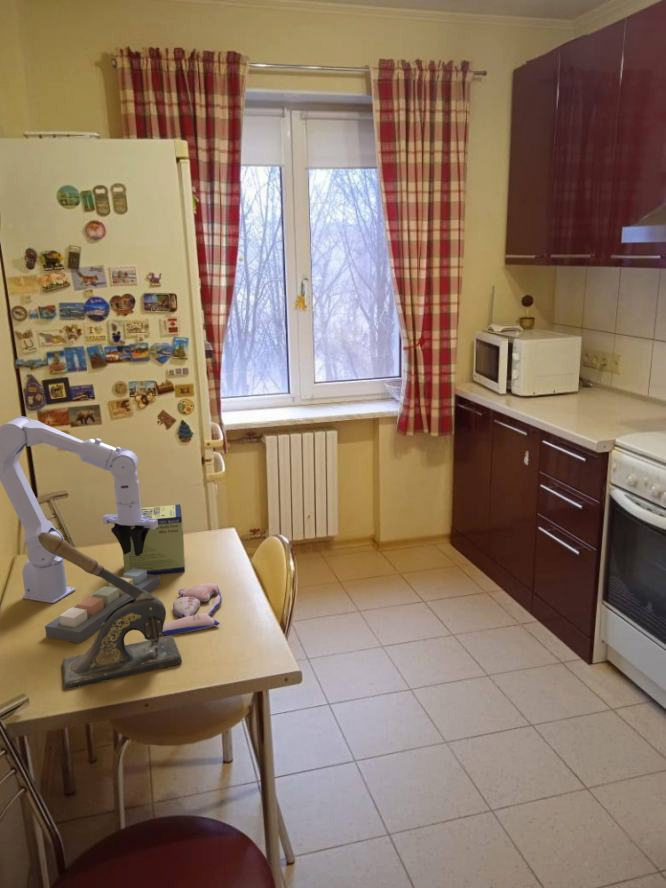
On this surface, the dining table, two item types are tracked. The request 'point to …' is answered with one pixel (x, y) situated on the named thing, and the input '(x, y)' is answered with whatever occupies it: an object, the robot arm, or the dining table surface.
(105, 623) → the embossing press
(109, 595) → the key sage
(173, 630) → the anatomical model
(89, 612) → the key terracotta
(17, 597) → the dining table surface
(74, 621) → the key ivory
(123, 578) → the key ochre
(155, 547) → the protein powder box
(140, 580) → the key blue
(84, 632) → the keypad board
